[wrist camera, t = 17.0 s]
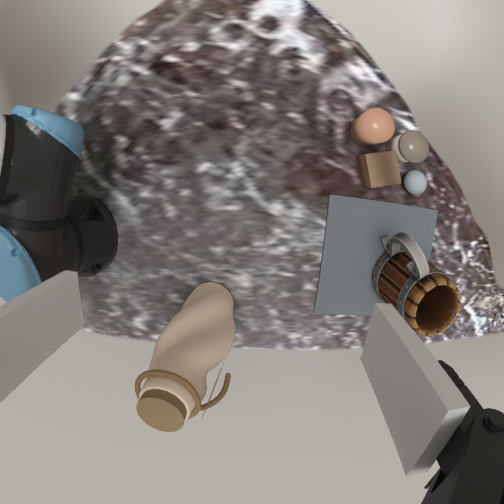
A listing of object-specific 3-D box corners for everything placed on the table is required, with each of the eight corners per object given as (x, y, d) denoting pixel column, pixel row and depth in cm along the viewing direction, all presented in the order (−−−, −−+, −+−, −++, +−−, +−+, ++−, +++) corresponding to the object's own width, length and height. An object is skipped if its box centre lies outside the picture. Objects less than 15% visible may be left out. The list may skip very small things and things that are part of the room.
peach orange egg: (348, 143, 44) (361, 138, 37) (350, 114, 43) (362, 104, 36) (377, 148, 44) (393, 145, 37) (379, 119, 42) (394, 111, 36)
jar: (383, 161, 44) (399, 159, 37) (384, 132, 43) (401, 127, 36) (408, 166, 44) (427, 165, 37) (410, 138, 43) (429, 134, 36)
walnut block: (361, 186, 45) (371, 188, 41) (356, 156, 44) (365, 154, 39) (389, 182, 45) (401, 183, 40) (384, 152, 44) (395, 150, 39)
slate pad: (313, 311, 51) (314, 312, 50) (329, 194, 46) (330, 194, 45) (414, 315, 50) (415, 317, 49) (435, 210, 45) (437, 210, 44)
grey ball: (398, 191, 45) (408, 193, 41) (401, 168, 44) (411, 167, 40) (418, 195, 45) (429, 197, 41) (421, 172, 44) (432, 172, 40)
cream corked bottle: (245, 279, 50) (216, 388, 23) (245, 326, 53) (221, 450, 25) (186, 276, 51) (108, 371, 24) (189, 323, 53) (128, 434, 26)
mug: (430, 283, 48) (473, 318, 33) (383, 313, 50) (415, 358, 35) (400, 207, 45) (447, 221, 30) (348, 238, 47) (378, 264, 32)
